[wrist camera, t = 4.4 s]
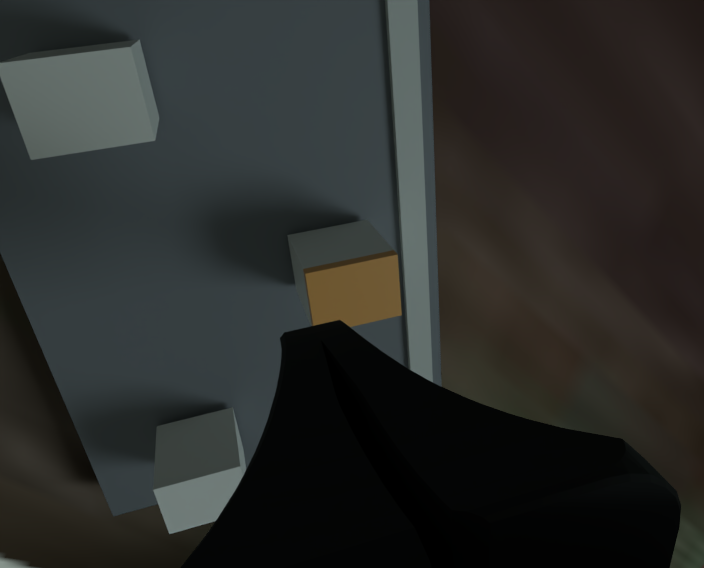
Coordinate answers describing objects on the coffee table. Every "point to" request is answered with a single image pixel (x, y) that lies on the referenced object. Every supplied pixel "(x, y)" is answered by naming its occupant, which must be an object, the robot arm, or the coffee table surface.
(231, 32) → the breaker board
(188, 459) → the breaker
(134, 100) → the block
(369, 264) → the block
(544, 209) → the coffee table surface
